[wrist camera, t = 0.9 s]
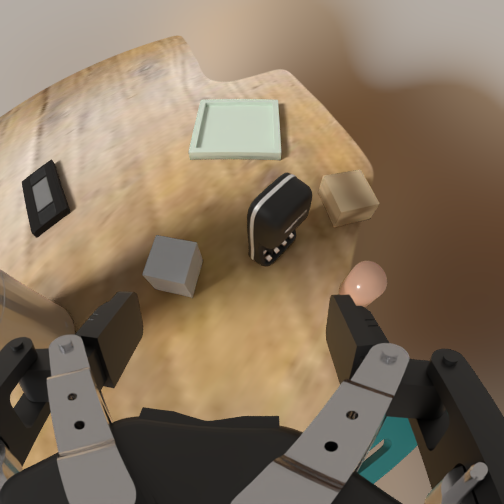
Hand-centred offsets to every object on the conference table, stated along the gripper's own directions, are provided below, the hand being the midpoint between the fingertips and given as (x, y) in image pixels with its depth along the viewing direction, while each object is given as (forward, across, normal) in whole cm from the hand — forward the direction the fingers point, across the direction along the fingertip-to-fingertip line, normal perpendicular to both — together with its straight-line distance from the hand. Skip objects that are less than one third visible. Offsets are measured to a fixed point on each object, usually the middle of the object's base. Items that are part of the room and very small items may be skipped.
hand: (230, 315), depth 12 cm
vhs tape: (+33, +36, -1) cm, 48 cm away
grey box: (+23, +9, +8) cm, 26 cm away
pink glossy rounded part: (+22, -13, +10) cm, 28 cm away
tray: (+41, +2, -10) cm, 43 cm away
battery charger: (+26, -3, +6) cm, 27 cm away
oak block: (+31, -14, +1) cm, 34 cm away
